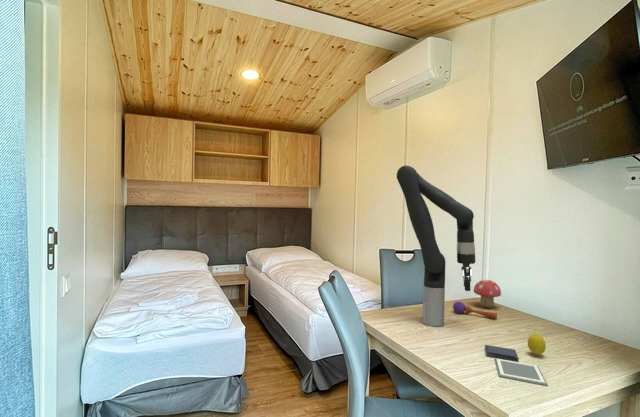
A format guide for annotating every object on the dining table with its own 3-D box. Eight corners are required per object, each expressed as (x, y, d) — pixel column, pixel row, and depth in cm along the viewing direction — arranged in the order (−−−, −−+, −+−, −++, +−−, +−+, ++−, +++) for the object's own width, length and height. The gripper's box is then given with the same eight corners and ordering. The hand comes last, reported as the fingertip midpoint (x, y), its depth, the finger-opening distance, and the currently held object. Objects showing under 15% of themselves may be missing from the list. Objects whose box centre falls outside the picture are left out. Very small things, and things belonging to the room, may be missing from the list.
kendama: (496, 313, 156) (452, 303, 167) (495, 325, 157) (451, 313, 168) (497, 308, 161) (454, 298, 171) (496, 319, 162) (454, 308, 173)
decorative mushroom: (471, 302, 186) (471, 276, 186) (497, 305, 183) (497, 278, 183) (475, 310, 173) (476, 281, 173) (504, 312, 170) (504, 283, 170)
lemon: (523, 352, 122) (524, 330, 122) (537, 351, 123) (538, 330, 123) (534, 359, 117) (535, 336, 117) (549, 358, 117) (549, 336, 117)
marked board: (499, 376, 104) (499, 374, 104) (494, 359, 116) (494, 357, 116) (547, 386, 99) (547, 383, 99) (538, 367, 111) (538, 365, 111)
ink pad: (486, 356, 118) (486, 352, 118) (484, 347, 126) (484, 344, 126) (518, 362, 114) (518, 357, 114) (514, 352, 122) (514, 348, 122)
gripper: (456, 250, 155) (457, 285, 154) (457, 253, 141) (458, 291, 141) (473, 251, 152) (474, 286, 151) (476, 254, 139) (477, 292, 138)
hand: (467, 288), depth 146 cm, fingers open, 8 cm apart
